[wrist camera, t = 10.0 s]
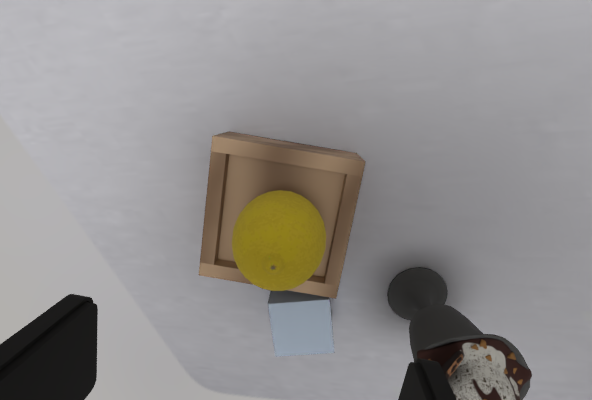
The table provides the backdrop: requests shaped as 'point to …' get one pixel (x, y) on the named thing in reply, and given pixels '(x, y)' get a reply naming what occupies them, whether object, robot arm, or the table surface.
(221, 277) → the wooden open box
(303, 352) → the slate cube
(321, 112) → the table surface
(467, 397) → the sundae
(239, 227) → the lemon
